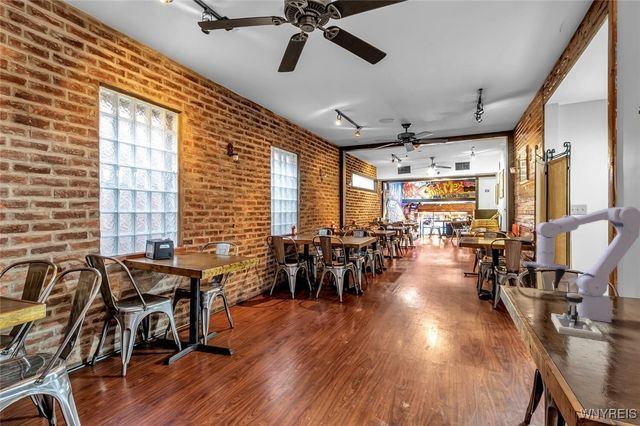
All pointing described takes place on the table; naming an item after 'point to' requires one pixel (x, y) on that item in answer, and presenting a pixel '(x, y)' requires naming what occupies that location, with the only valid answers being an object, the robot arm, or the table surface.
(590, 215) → the robot arm
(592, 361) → the table surface
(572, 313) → the push button
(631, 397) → the table surface
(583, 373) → the table surface
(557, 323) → the pin tray
